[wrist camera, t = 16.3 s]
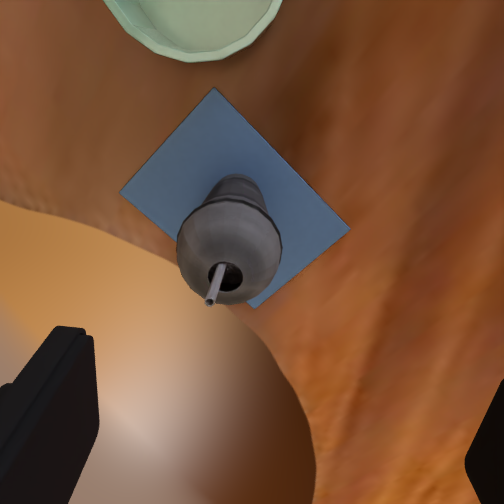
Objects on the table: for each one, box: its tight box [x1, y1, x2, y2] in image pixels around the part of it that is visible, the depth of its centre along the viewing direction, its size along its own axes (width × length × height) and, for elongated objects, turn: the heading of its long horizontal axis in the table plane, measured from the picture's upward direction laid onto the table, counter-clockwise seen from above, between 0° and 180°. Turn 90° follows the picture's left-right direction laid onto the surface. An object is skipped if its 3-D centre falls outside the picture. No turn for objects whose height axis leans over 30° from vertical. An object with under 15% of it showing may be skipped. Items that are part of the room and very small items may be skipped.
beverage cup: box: [176, 173, 283, 307], centre depth 30 cm, size 7×7×20 cm
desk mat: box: [119, 87, 350, 309], centre depth 40 cm, size 18×13×1 cm
